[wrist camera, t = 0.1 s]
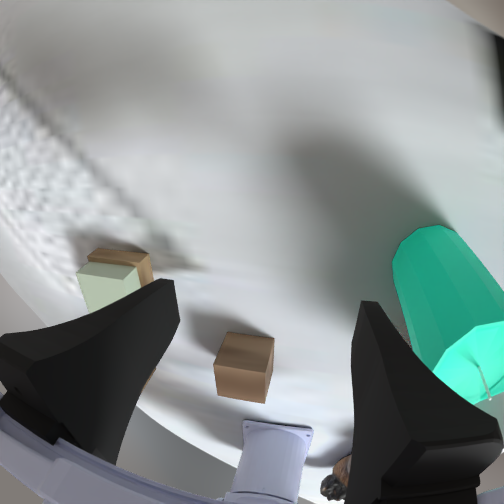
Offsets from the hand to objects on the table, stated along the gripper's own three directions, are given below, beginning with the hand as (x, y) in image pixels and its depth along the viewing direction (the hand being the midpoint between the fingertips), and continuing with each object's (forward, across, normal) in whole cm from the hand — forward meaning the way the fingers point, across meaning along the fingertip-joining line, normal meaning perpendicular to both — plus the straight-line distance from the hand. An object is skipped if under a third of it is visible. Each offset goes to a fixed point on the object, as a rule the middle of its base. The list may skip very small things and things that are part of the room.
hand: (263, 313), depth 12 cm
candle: (+10, -10, +2) cm, 15 cm away
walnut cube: (+10, +3, +12) cm, 16 cm away
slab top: (+8, +14, +6) cm, 18 cm away
